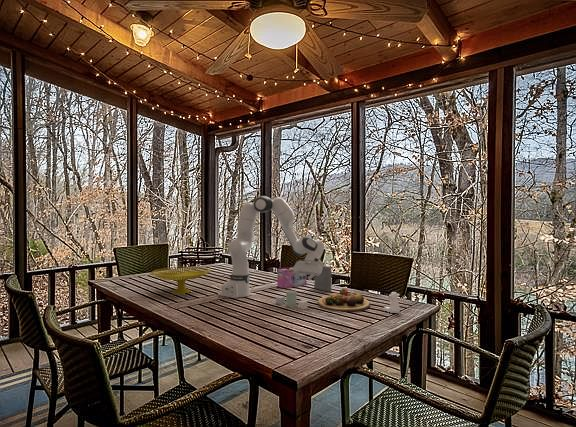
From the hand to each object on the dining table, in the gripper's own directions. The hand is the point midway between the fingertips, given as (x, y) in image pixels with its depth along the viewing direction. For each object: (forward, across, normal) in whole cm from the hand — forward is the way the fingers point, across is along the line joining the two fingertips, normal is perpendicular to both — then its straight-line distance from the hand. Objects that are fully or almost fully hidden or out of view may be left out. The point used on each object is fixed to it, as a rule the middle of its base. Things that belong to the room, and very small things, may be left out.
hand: (302, 278), depth 225 cm
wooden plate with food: (+4, +24, +18) cm, 30 cm away
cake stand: (+34, -80, -13) cm, 88 cm away
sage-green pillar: (+19, 0, +2) cm, 19 cm away
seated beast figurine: (+1, +55, +20) cm, 58 cm away
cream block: (+19, +9, +2) cm, 21 cm away
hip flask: (-15, -7, +36) cm, 40 cm away
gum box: (-13, -32, +34) cm, 49 cm away
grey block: (+19, -8, +2) cm, 21 cm away
